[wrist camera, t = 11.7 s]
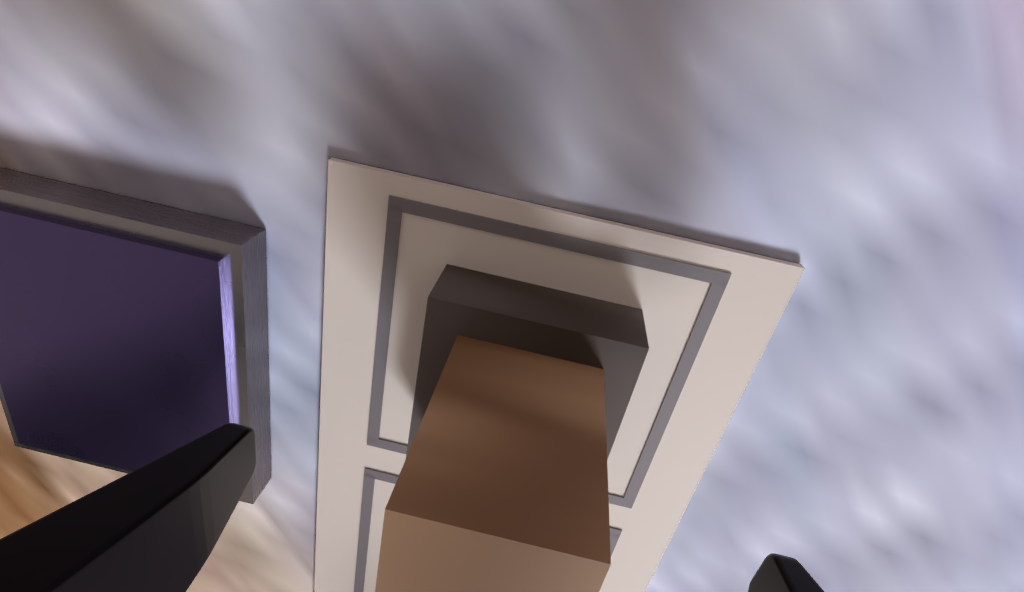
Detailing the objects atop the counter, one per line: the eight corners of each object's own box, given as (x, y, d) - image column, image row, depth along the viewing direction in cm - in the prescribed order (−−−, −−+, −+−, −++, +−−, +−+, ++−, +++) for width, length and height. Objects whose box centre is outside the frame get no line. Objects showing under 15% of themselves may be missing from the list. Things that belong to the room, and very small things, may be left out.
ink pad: (46, 422, 16) (8, 450, 15) (-26, 161, 13) (-83, 175, 12) (271, 477, 16) (249, 509, 15) (265, 229, 13) (235, 249, 11)
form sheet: (315, 610, 19) (312, 617, 19) (332, 157, 12) (327, 160, 11) (597, 680, 19) (597, 688, 19) (801, 264, 11) (805, 269, 11)
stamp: (424, 415, 14) (324, 654, 9) (446, 263, 12) (334, 457, 7) (590, 455, 14) (590, 721, 9) (641, 309, 12) (682, 541, 7)
